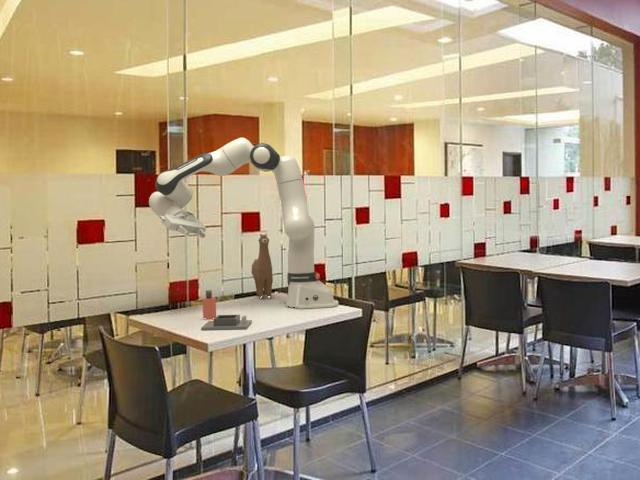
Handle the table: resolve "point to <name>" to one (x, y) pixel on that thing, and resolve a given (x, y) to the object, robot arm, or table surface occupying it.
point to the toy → (263, 268)
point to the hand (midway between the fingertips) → (195, 235)
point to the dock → (227, 323)
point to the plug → (209, 306)
